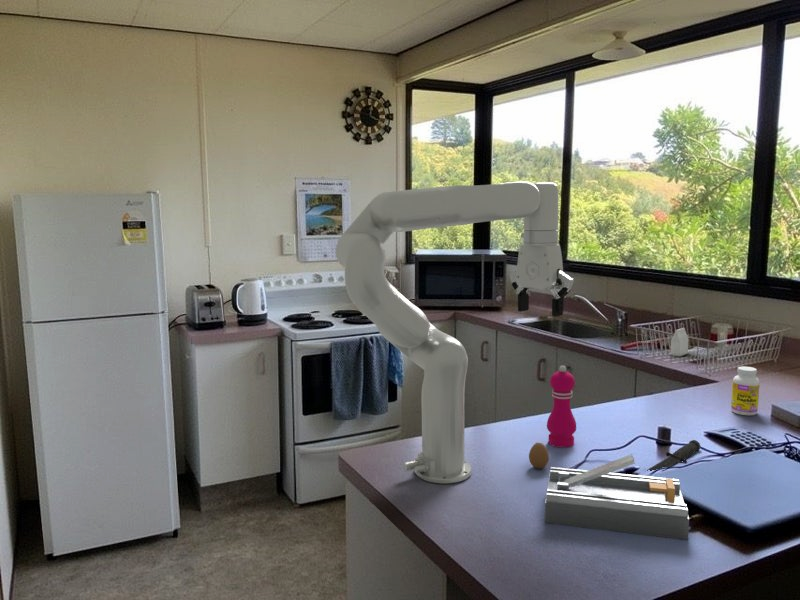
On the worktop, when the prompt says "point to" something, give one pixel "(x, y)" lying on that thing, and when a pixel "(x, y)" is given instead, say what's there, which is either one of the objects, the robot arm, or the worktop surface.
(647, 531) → the grey ridged tray
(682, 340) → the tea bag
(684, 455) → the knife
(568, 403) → the pepper mill
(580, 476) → the light grey bar
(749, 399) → the supplement bottle
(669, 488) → the latch
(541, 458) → the egg
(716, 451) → the worktop surface
